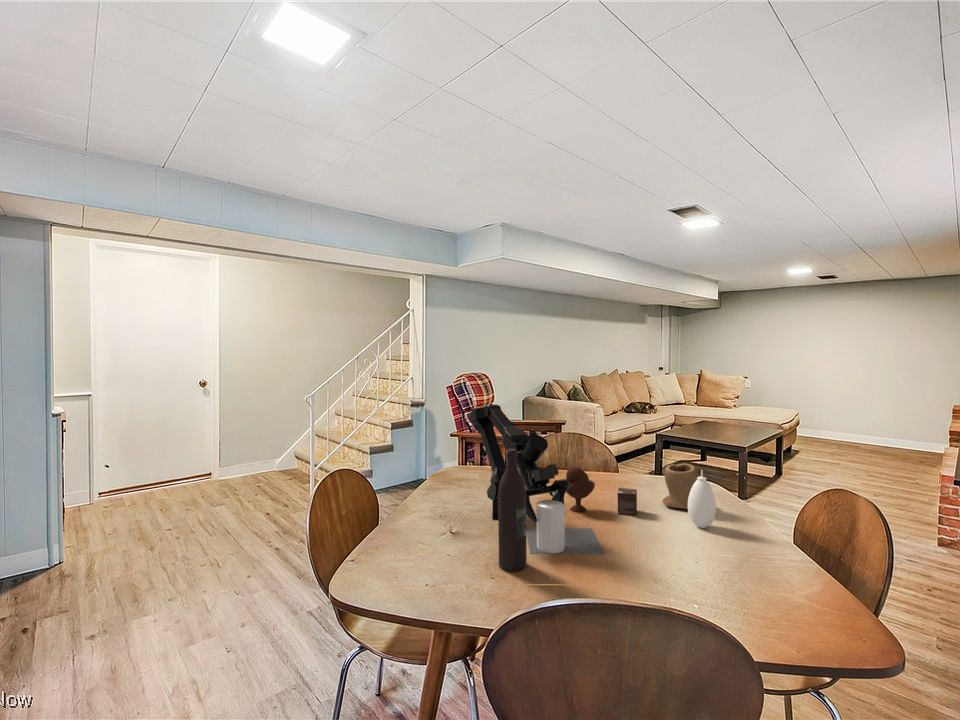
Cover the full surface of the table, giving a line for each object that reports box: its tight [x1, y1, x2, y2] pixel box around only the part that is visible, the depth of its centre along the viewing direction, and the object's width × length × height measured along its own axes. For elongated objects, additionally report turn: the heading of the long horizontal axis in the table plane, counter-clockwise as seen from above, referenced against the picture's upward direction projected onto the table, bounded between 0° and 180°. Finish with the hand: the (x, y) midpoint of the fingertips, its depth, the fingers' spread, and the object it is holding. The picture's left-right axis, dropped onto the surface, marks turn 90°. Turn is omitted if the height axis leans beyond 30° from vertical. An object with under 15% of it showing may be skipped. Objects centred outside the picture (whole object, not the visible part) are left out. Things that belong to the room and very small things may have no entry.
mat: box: [526, 527, 606, 555], centre depth 138 cm, size 20×18×1 cm
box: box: [617, 487, 638, 516], centre depth 161 cm, size 6×6×7 cm
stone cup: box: [662, 462, 699, 510], centre depth 164 cm, size 15×12×15 cm
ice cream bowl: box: [565, 466, 596, 514], centre depth 163 cm, size 11×11×15 cm
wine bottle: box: [497, 449, 527, 573], centre depth 122 cm, size 7×7×30 cm
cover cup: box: [536, 499, 566, 553], centre depth 133 cm, size 7×7×12 cm
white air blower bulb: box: [687, 469, 717, 529], centre depth 147 cm, size 8×8×18 cm
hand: (550, 519), depth 133 cm, fingers open, 9 cm apart
